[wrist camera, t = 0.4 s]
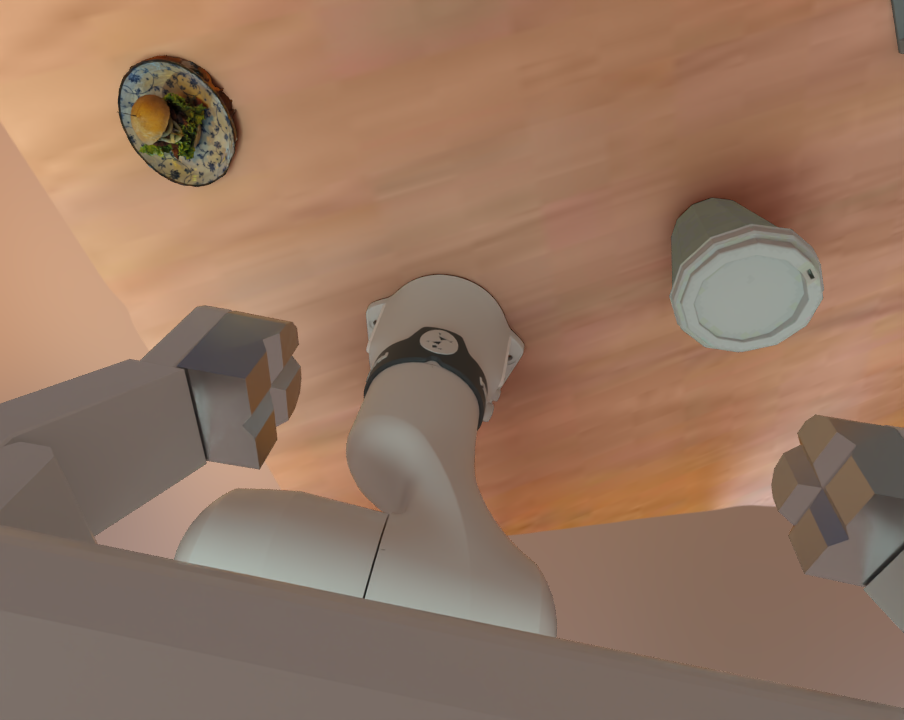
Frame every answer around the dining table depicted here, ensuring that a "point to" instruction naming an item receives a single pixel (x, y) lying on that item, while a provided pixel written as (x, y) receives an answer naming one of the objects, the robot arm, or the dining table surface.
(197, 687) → the robot arm
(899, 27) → the mat
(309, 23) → the dining table surface
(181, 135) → the burger
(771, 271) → the disposable coffee cup
